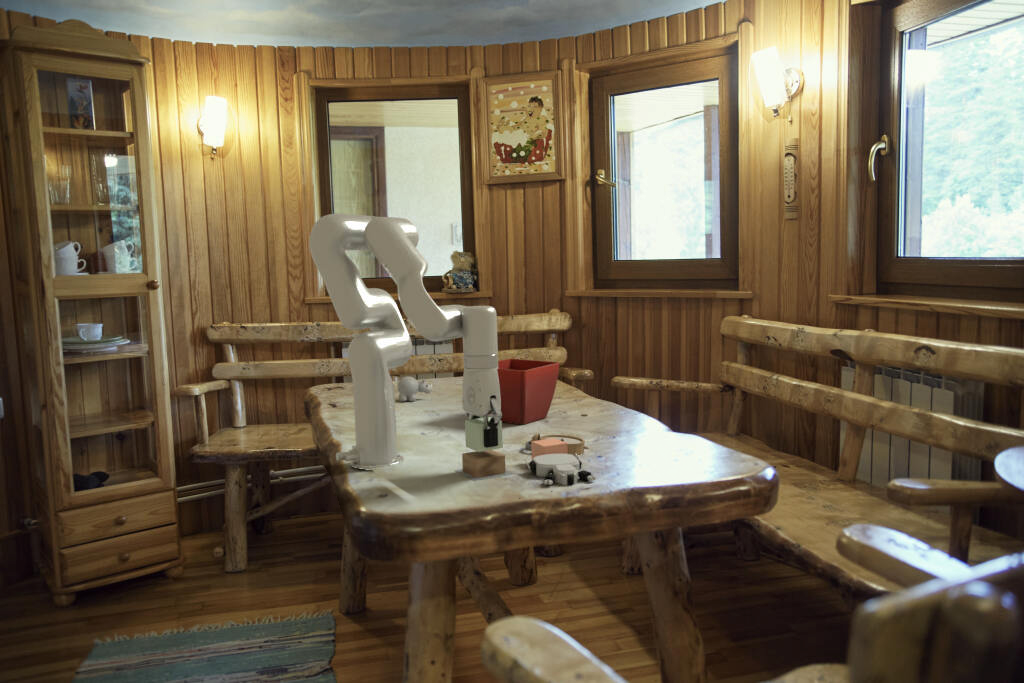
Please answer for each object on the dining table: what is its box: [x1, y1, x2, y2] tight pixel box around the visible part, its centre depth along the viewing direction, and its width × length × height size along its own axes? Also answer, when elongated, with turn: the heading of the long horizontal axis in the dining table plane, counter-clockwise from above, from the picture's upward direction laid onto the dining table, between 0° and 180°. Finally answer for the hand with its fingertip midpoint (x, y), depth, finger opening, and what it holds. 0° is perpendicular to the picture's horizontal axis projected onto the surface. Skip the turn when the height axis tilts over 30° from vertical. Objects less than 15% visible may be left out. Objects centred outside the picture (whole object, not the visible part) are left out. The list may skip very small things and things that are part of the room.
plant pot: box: [487, 358, 560, 426], centre depth 236 cm, size 19×19×17 cm
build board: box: [453, 468, 515, 482], centre depth 174 cm, size 10×10×1 cm
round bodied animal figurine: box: [396, 376, 433, 402], centre depth 273 cm, size 7×12×8 cm, turn 101°
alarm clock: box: [525, 433, 590, 457], centre depth 194 cm, size 11×5×15 cm
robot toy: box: [524, 453, 597, 486], centre depth 170 cm, size 12×4×15 cm
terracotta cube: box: [530, 438, 568, 460], centre depth 180 cm, size 6×6×6 cm
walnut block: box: [461, 449, 506, 478], centre depth 174 cm, size 7×7×4 cm
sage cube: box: [464, 417, 504, 452], centre depth 173 cm, size 6×6×6 cm
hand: (483, 442), depth 174 cm, fingers closed on sage cube, 6 cm apart
